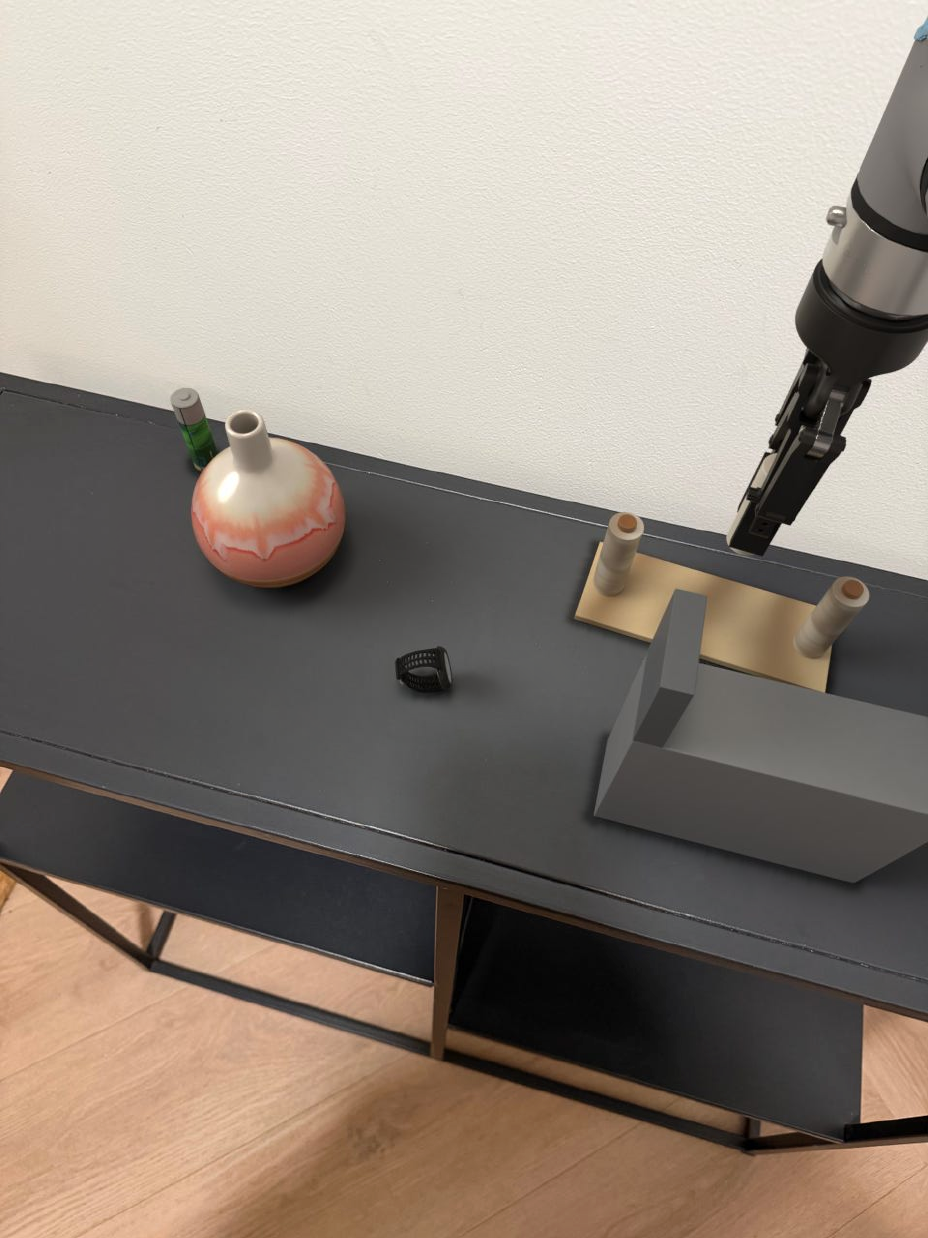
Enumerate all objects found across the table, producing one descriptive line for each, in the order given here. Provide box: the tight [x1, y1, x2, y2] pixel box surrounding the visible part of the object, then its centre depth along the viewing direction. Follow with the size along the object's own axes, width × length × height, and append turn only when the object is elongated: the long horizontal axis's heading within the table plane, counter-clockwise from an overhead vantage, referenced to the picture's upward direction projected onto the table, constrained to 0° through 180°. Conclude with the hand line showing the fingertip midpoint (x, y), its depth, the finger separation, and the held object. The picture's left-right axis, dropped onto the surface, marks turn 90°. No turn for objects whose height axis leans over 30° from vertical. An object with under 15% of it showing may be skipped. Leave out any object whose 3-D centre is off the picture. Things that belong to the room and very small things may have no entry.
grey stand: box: [593, 589, 928, 884], centre depth 59 cm, size 21×7×24 cm, turn 75°
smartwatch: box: [394, 645, 453, 693], centre depth 72 cm, size 4×5×5 cm
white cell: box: [725, 453, 777, 557], centre depth 64 cm, size 3×3×10 cm
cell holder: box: [573, 511, 870, 693], centre depth 74 cm, size 23×9×10 cm, turn 70°
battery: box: [169, 387, 219, 473], centre depth 83 cm, size 3×3×10 cm
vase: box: [190, 409, 347, 589], centre depth 74 cm, size 14×14×18 cm
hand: (750, 530), depth 67 cm, fingers closed on white cell, 3 cm apart
